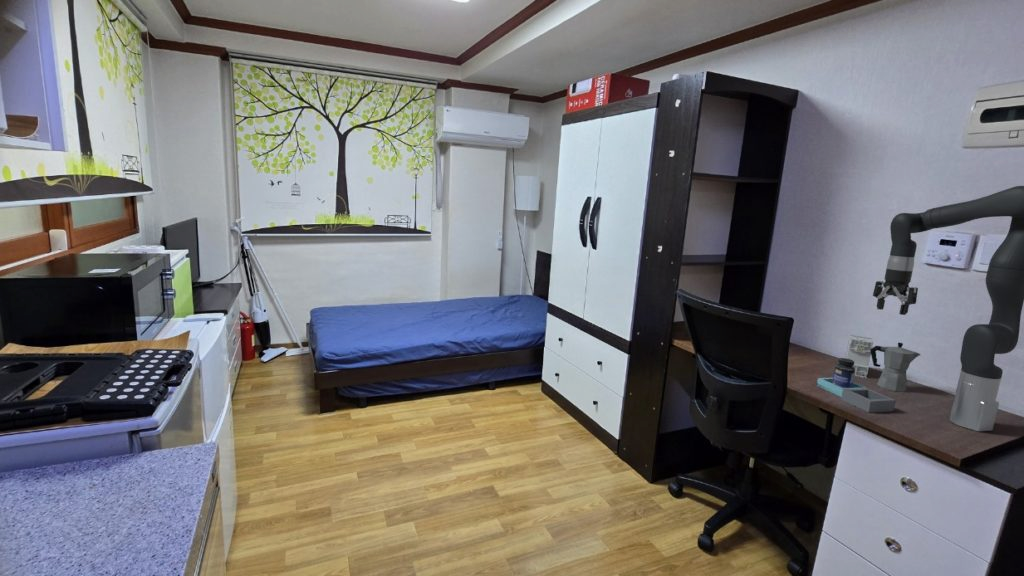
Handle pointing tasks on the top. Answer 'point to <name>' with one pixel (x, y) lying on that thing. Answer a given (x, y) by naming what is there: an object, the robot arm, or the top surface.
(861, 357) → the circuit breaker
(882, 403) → the holder
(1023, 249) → the robot arm
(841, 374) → the pill bottle
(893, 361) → the coffeepot
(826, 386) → the tray
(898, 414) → the top surface
